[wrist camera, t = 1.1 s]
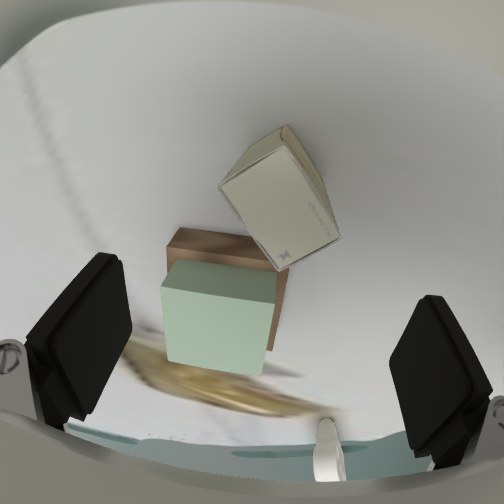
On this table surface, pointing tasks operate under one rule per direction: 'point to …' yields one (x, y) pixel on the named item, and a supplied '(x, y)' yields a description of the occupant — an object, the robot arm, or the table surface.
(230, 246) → the tower base block
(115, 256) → the robot arm
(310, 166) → the skincare box
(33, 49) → the table surface
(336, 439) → the white brass knuckles
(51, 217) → the table surface
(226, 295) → the tower top block
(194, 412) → the table surface
